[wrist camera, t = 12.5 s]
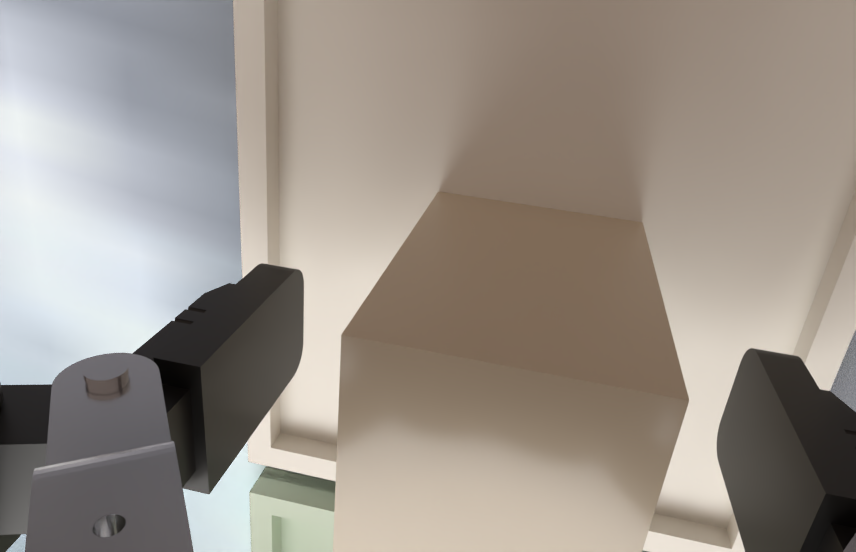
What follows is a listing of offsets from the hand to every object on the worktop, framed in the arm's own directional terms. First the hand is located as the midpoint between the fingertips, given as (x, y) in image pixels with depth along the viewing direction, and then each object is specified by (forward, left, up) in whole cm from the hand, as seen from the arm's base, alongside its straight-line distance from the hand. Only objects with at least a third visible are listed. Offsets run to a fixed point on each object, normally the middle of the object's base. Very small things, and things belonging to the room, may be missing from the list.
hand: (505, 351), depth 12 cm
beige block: (0, 0, -2) cm, 2 cm away
